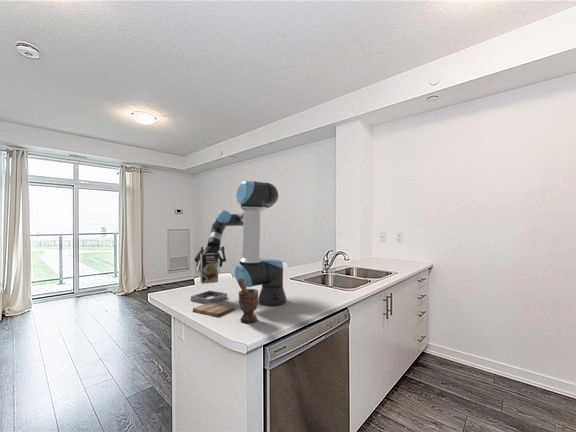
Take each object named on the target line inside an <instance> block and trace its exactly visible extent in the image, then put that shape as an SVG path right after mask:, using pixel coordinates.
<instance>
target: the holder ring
mask: <svg viewBox="0 0 576 432" xmlns="http://www.w3.org/2000/svg"><path fill="white" fill-rule="evenodd" d="M208 296H210V297H211V298H206V297H208ZM212 296H213V297H212ZM227 298H228V293H226V292H221V291H215V290H206V291H203V292H200V293H197V294H194V295H191V296H190V301H191V302H195V303H199V304H200V303H201V304H203V305H204V304H207V303H209V302H214V303H217V302H221V301H222V300H225V299H227Z"/></svg>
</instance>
